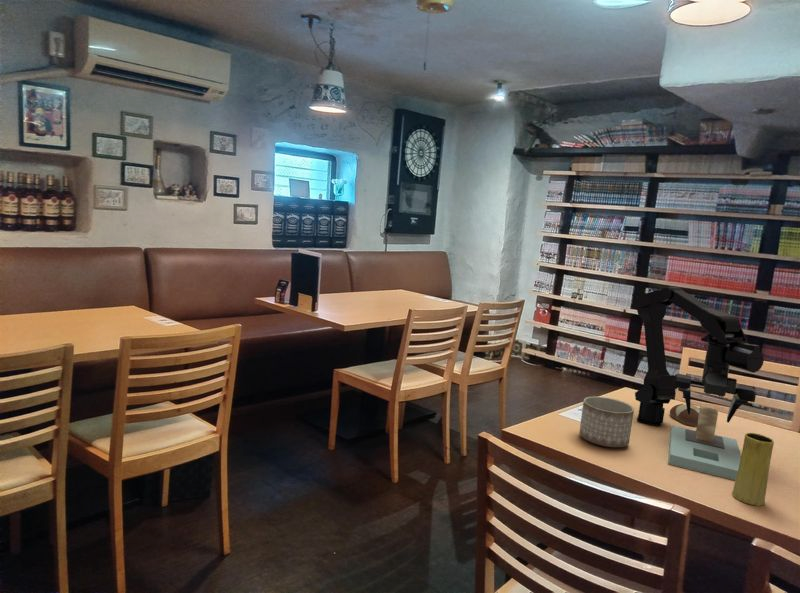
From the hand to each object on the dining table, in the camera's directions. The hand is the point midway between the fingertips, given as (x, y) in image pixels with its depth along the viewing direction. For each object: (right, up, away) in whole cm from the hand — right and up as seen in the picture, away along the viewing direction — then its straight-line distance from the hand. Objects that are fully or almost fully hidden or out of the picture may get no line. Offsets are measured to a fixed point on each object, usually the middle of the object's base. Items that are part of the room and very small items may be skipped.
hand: (707, 417), depth 145 cm
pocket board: (-3, -9, -4) cm, 10 cm away
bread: (+8, -6, +23) cm, 25 cm away
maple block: (0, -6, +1) cm, 6 cm away
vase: (-6, -12, -26) cm, 29 cm away
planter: (-28, -7, +1) cm, 29 cm away
